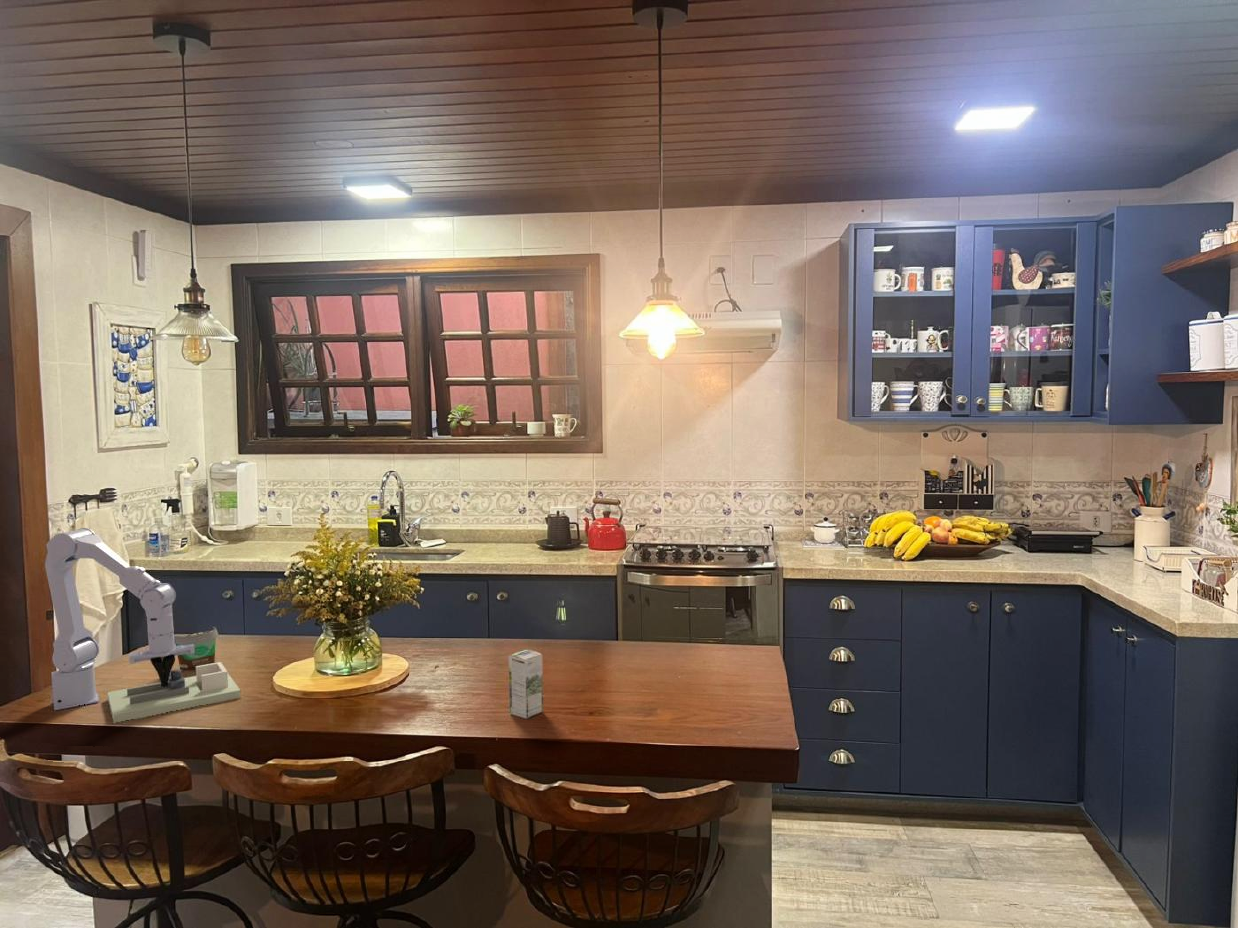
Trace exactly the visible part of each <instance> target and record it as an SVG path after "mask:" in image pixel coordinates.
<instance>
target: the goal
mask: <svg viewBox="0 0 1238 928" xmlns="http://www.w3.org/2000/svg"><path fill="white" fill-rule="evenodd" d="M227 672H228V670H227V669H226V668H225V666H224V664H223V663H222V662H221V661H219V662H218V661H217V662H215V663H212V664H206V665H201V666H196V670H195V676H196V678H197V682H201V681H202V689H201V691H208V690H213V689H218V688H223V687H228V674H229V673H228V674H227Z"/></svg>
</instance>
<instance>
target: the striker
mask: <svg viewBox="0 0 1238 928" xmlns="http://www.w3.org/2000/svg"><path fill="white" fill-rule="evenodd" d="M184 678H185V677H184V676H183V675H182V670H181V669H180V668H178V669H173V670H172V669H171V672H170V675H169V679H168V681H169V689H170V690H171V689H176V688H181V687H185V680H184Z"/></svg>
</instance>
